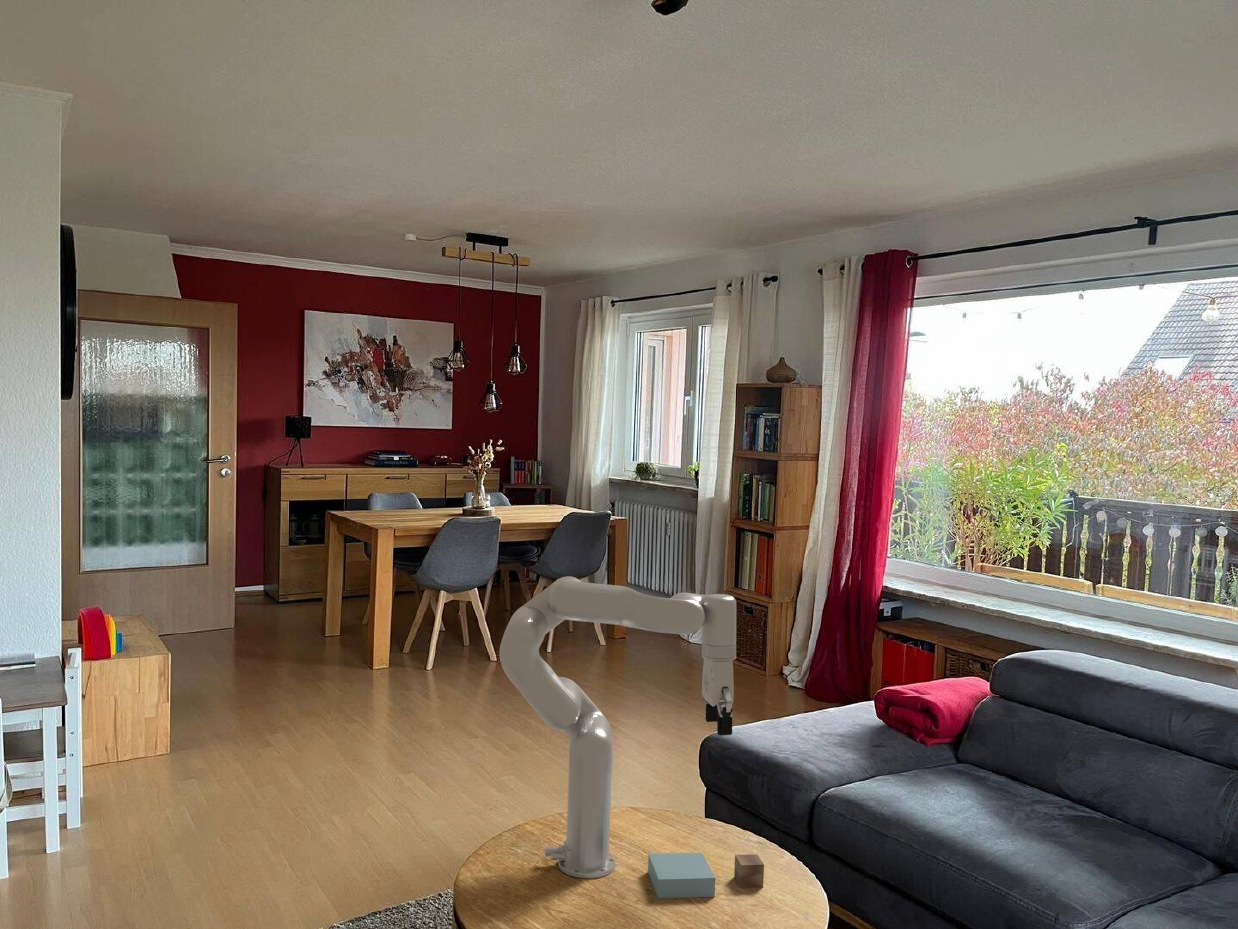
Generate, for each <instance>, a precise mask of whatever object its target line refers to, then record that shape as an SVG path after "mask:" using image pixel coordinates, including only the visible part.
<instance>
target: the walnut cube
mask: <svg viewBox="0 0 1238 929" xmlns="http://www.w3.org/2000/svg"><path fill="white" fill-rule="evenodd" d="M733 871H734V872H733V873H734V875H733V877H734V879H735V881H736V883H737V884H738V886H739V888H740V889H754V888H755V889H756V888H758V889H759V888H764V879H765V878H764V876H765V864H764V862H763V861H762V859H761V858H760V856H759V854H757V853H752V854H751V853H750V854H735V855H734V870H733Z"/></svg>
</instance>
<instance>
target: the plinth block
mask: <svg viewBox="0 0 1238 929" xmlns="http://www.w3.org/2000/svg"><path fill="white" fill-rule="evenodd" d="M647 861H648V862H647V873H648V874H647V875H648V876H649V879H650V881H651V883H652V884H651V885H652V887H653V889H654V891H655V894H656V897H657V899H658V900H659V899H661V900H662V899H681V898H682V899H688V898H693V899H694V898H695V899H696V898H715V897H716V896H715V895H716V876H715V875H714V872H713V870H712V868H711V867H710V865H709V863H708V861H707V858H706V857H705V855H704V853H703V852H672V853H671V852H670V853H665V852H664V853H648V860H647Z"/></svg>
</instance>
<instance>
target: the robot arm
mask: <svg viewBox="0 0 1238 929" xmlns="http://www.w3.org/2000/svg"><path fill="white" fill-rule="evenodd" d="M564 621H575V622H586V623H597V624H608V625H616V626H617V625H618V626H622V627H626V628H633V629H638V630H642V631H646V632H647V631H649V632H654V633H660V634H661V633H662V634H674V635H691V634H694V633H696V632H698V631H700V629H701V658H702V659H703V661H702V662H703V663H702V678H701V680H702V681H701V682H702V683H701V694H702V695H701V696H702V697H703V698H704V700H705V721H706V722H707V723H712V722H713V723H715V722H716V723H717V724H716V733H717V735H718V736H731V735H733V715H734V714H733V705H734V704H733V703H734V696H735V692H734V691H735V690H734V689H735V685H734V665H733V660H736V659H737V600H736V598H735V597H734V596H732V595H729V594H726V593H725V594H724V593H722V594H721V593H715V594H714V593H712V594H699V593H691V592H677V593H676V594H674V595H672V596H671V597H670V598H668V597H667V598H666V597H659V596H653V595H649V594H645V593H641V592H639V591H637V590H635V589H632V588H630V587H629V586H628V587H627V586H623V585H616V584H615V585H614V584H604V583H593V582H586V581H585V582H582V581H581V580H580V579H578V578H577V577H574V576H568V575H567V576H563V577H560V578H558V579H556V580H555V581H554V582H552V583H551V584H549V585H548V586H547V587H546V588H544V589H543V590H542V591H541V592H539V593H538V594H536V595H535V596H534V597H533V598H531V599H530V600H528V601H527V602H526V603H524V604H523V605H522V606H520V607H519V608H517V609H516V610H515V611H514V613H513V614H512V616H510V620H509V621H508V624H507V626H506V628H505V630H504V633H503V636H502V639H501V642H500V646H499V661H500V665H501V668H502V670H503V672H504V674H505V675H506V676H507V679H509V681H510V682H511V683H512V684H513V686H515V688H516V689H517V691H518V692H519V693H520V694H521V695H522V696H523V699H525V701H526V702H527V703H528V704H529V705H530V706H531V708H532V709H533V710H534V712H536V714H537V715H538V716H539V717H540V719H541V720H542V721H543V723H545V725H546V726H548V727H549V728H551V729H553V730H555V731H561V732H564V734H565V736H567V737H568V739H569V747H568V775H567V776H568V778H567V780H568V781H567V807H566V808H567V811H566V812H567V813H566V815H567V816H566V834H565V837H566V840H563V844H562V845H561V844H560V845H558V846H556V847H555V846H545V847H544V857H550V860H551V861H558V863H557V864H558V868H559V870H560V871H561V872H563V873H564V874H566V875H568V876H571V877H574V878H578V879H597V878H603V877H605V876H608V875H610V874H611V873H612V872H614V871H615V868H616V859H615V857H614V856H612V854H610V852H609V851H610V831H611V830H610V828H611V827H610V826H611V799H612V775H613V764H614V763H613V762H614V740H613V739H614V738H613V733H612V732H613V731H612V727H611V725H610V724H611V723H610V722H609V720H608V719H607V717H606V716H605V715H604V714H603V712H602V711H601V710H600V709H599V708H598V707H597V705H596V704H595V703H594V702H593V701H592V699H590V698H589V696H588V695H587V694H586V692H585V691H584V690H583V689H582V688H581V687H580V685H578V684H577V683H576V682H575V681H574V680H573V679H570V678H568V677H564V676H558V675H557V673H555V671H554V670H553V668H552V667H551V666H550V665H549V664H548V663H547V662H546V661H545V660H544V658H542V656H541V655H540V647H541V646H542V643H543V642H544V639H545V636H546V634H548V633H549V632H550V631H552V630H553V629H555V628H556V627H557V626H558V625H560V624H561V623H563V622H564Z"/></svg>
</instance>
